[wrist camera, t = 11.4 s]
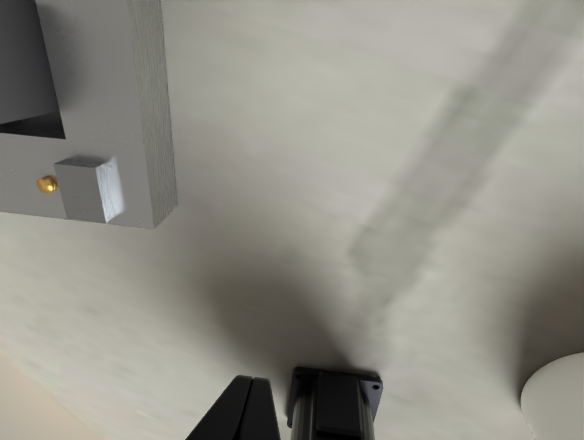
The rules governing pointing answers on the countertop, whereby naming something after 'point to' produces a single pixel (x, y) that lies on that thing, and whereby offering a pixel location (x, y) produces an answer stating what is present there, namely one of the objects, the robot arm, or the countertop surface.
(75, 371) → the countertop surface
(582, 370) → the cup
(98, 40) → the faceplate
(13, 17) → the plug
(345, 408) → the robot arm
